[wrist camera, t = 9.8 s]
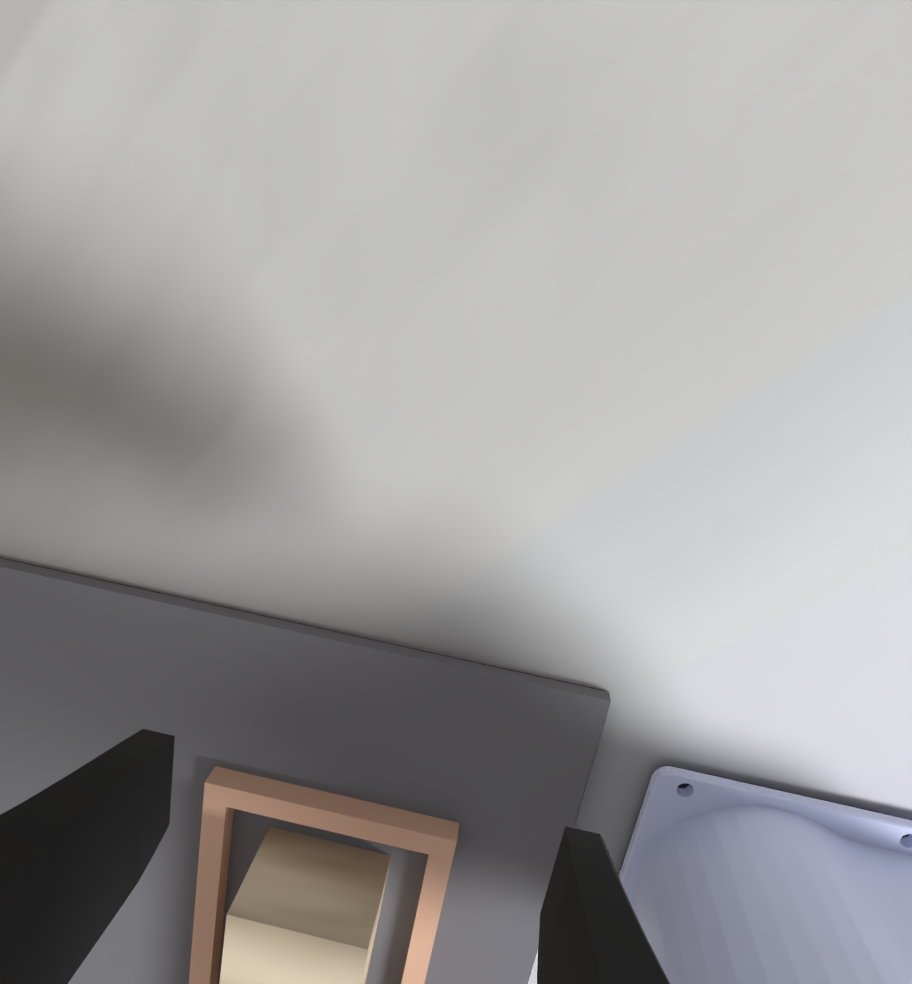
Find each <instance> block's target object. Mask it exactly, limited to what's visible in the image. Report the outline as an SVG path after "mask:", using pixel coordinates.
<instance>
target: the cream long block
mask: <svg viewBox="0 0 912 984" xmlns="http://www.w3.org/2000/svg"><path fill="white" fill-rule="evenodd" d="M390 859H391V856H390V855H386V854H381V853H377V852H373V851H369V850H365V849H361V848H357V847H352V846H348V845H344V844H340V843H336V842H332V841H327V840H323V839H319V838H315V837H311V836H307V835H303V834H298V833H294V832H290V831H286V830H282V829H278V828H273V827H269V829H268V831H267V833H266V835H265V837H264V839H263V841H262V844H261V846H260V848H259V850H258V852H257V854H256V856H255V858H254V860H253V862H252V864H251V866H250V868H249V870H248V872H247V874H246V876H245V878H244V880H243V882H242V884H241V886H240V888H239V890H238V892H237V895H236V897H235V899H234V901H233V903H232V905H231V907H230V909H229V911H228V913H227V916H226V926H225V935H224V945H223V954H222V964H221V973H220V983H219V984H366V980H367V975H368V970H369V965H370V960H371V955H372V950H373V945H374V940H375V935H376V930H377V925H378V920H379V915H380V910H381V905H382V900H383V895H384V889H385V884H386V879H387V874H388V869H389V864H390Z"/></svg>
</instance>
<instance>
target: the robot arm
mask: <svg viewBox="0 0 912 984" xmlns="http://www.w3.org/2000/svg"><path fill="white" fill-rule="evenodd" d="M174 741H175V736H173V735H168V734H164V733H160V732H155V731H151V730H147V729H142V730H140V731H138V732H137V733H135V734H133V735H132V736H130V737H128V738H127V739H125V740H123V741H122V742H120V743H119V744H117V745H115V746H114V747H112V748H111V749H109V750H107V751H106V752H104V753H103V754H101V755H99V756H98V757H96V758H95V759H93V760H91V761H90V762H88V763H87V764H85V765H83V766H82V767H80V768H79V769H77V770H75V771H74V772H72V773H71V774H69V775H67V776H66V777H64V778H62V779H61V780H59V781H57V782H56V783H54V784H52V785H51V786H49V787H47V788H46V789H44V790H42V791H41V792H39V793H37V794H36V795H34V796H32V797H31V798H29V799H27V800H26V801H24V802H22V803H21V804H19V805H17V806H15V807H13V808H12V809H10V810H8V811H6V812H4V813H2V814H1V815H0V984H68V983H69V981H70V980H71V978H72V977H73V975H74V974H75V973H76V971H77V970H78V968H79V967H80V965H81V964H82V963H83V961H84V960H85V958H86V957H87V955H88V954H89V953H90V951H91V950H92V948H93V947H94V945H95V944H96V943H97V941H98V940H99V938H100V937H101V935H102V934H103V933H104V931H105V930H106V928H107V927H108V925H109V924H110V922H111V921H112V920H113V918H114V917H115V915H116V914H117V912H118V911H119V909H120V908H121V906H122V905H123V904H124V902H125V901H126V899H127V898H128V896H129V895H130V893H131V892H132V890H133V889H134V887H135V886H136V885H137V883H138V882H139V880H140V878H141V876H142V874H143V873H144V871H145V869H146V867H147V866H148V864H149V862H150V860H151V858H152V857H153V855H154V853H155V851H156V849H157V847H158V845H159V843H160V842H161V840H162V838H163V836H164V834H165V832H166V830H167V828H168V826H169V823H170V806H171V790H172V773H173V757H174ZM683 783H688V784H690V785H689V786H688V787H686V788H679V787H678V786H679V785H680V784H683ZM907 834H910V835H909V836H907V837H905V838H902V837H903V836H904V835H907ZM537 984H912V820H908V819H903V818H899V817H895V816H890V815H886V814H881V813H877V812H872V811H868V810H863V809H859V808H855V807H850V806H846V805H841V804H837V803H832V802H828V801H823V800H819V799H814V798H810V797H806V796H801V795H797V794H792V793H788V792H783V791H779V790H774V789H770V788H765V787H761V786H757V785H752V784H748V783H743V782H739V781H734V780H730V779H725V778H721V777H716V776H712V775H708V774H703V773H699V772H694V771H690V770H685V769H681V768H676V767H672V766H664V767H660V768H658V769H657V770H655V771H654V773H653V775H652V777H651V780H650V783H649V786H648V789H647V792H646V795H645V798H644V801H643V804H642V807H641V810H640V813H639V816H638V819H637V822H636V825H635V829H634V832H633V835H632V838H631V841H630V844H629V847H628V850H627V853H626V856H625V859H624V862H623V865H622V868H621V871H620V874H619V876H618V874H617V872H616V869H615V867H614V865H613V862H612V860H611V857H610V855H609V852H608V850H607V847H606V845H605V842H604V840H603V839H602V837H601V836H600V834H597V833H592V832H588V831H584V830H579V829H575V828H571V827H566V826H565V829H564V832H563V836H562V839H561V843H560V846H559V850H558V853H557V857H556V860H555V864H554V867H553V871H552V874H551V877H550V881H549V884H548V888H547V891H546V895H545V898H544V902H543V905H542V909H541V912H540V926H539V945H538V970H537Z"/></svg>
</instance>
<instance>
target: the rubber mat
mask: <svg viewBox="0 0 912 984" xmlns="http://www.w3.org/2000/svg"><path fill="white" fill-rule="evenodd" d="M609 705H610V696H609V692H606V691H602V690H597V689H593V688H588V687H584V686H579V685H575V684H570V683H566V682H561V681H556V680H552V679H547V678H543V677H538V676H534V675H529V674H525V673H520V672H516V671H511V670H506V669H502V668H497V667H493V666H488V665H484V664H479V663H475V662H470V661H465V660H461V659H456V658H452V657H447V656H443V655H438V654H434V653H429V652H425V651H420V650H415V649H411V648H406V647H402V646H397V645H393V644H388V643H384V642H379V641H375V640H370V639H365V638H361V637H356V636H352V635H347V634H343V633H338V632H334V631H329V630H325V629H320V628H315V627H311V626H306V625H302V624H297V623H293V622H288V621H284V620H279V619H275V618H270V617H265V616H261V615H256V614H252V613H247V612H243V611H238V610H234V609H229V608H224V607H220V606H215V605H211V604H206V603H202V602H197V601H193V600H188V599H184V598H179V597H174V596H170V595H165V594H161V593H156V592H152V591H147V590H143V589H138V588H134V587H129V586H124V585H120V584H115V583H111V582H106V581H102V580H97V579H93V578H88V577H84V576H79V575H74V574H70V573H65V572H61V571H56V570H52V569H47V568H43V567H38V566H33V565H29V564H24V563H20V562H15V561H11V560H6V559H2V558H0V815H1V814H2V813H4V812H6V811H8V810H10V809H12V808H13V807H15V806H17V805H19V804H21V803H22V802H24V801H26V800H27V799H29V798H31V797H32V796H34V795H36V794H37V793H39V792H41V791H42V790H44V789H46V788H47V787H49V786H51V785H52V784H54V783H56V782H57V781H59V780H61V779H62V778H64V777H66V776H67V775H69V774H71V773H72V772H74V771H75V770H77V769H79V768H80V767H82V766H83V765H85V764H87V763H88V762H90V761H91V760H93V759H95V758H96V757H98V756H99V755H101V754H103V753H104V752H106V751H107V750H109V749H111V748H112V747H114V746H115V745H117V744H119V743H120V742H122V741H123V740H125V739H127V738H128V737H130V736H132V735H133V734H135V733H137V732H138V731H140V730H142V729H147V730H151V731H155V732H160V733H164V734H168V735H173V736H175V741H174V757H173V773H172V790H171V806H170V823H169V826H168V828H167V830H166V832H165V834H164V836H163V838H162V840H161V842H160V843H159V845H158V847H157V849H156V851H155V853H154V855H153V857H152V858H151V860H150V862H149V864H148V866H147V867H146V869H145V871H144V873H143V874H142V876H141V878H140V880H139V882H138V883H137V885H136V886H135V887H134V889H133V890H132V892H131V893H130V895H129V896H128V898H127V899H126V901H125V902H124V904H123V905H122V906H121V908H120V909H119V911H118V912H117V914H116V915H115V917H114V918H113V920H112V921H111V922H110V924H109V925H108V927H107V928H106V930H105V931H104V933H103V934H102V935H101V937H100V938H99V940H98V941H97V943H96V944H95V945H94V947H93V948H92V950H91V951H90V953H89V954H88V955H87V957H86V958H85V960H84V961H83V963H82V964H81V965H80V967H79V968H78V970H77V971H76V973H75V974H74V975H73V977H72V978H71V980H70V981H69V983H68V984H189V974H190V961H191V949H192V936H193V924H194V911H195V898H196V886H197V873H198V860H199V848H200V835H201V823H202V810H203V797H204V785H205V781H206V780H207V778H208V777H209V775H210V774H211V772H212V771H213V769H214V768H215V766H217V767H222V768H226V769H230V770H234V771H239V772H243V773H247V774H252V775H256V776H260V777H265V778H269V779H273V780H277V781H282V782H286V783H290V784H295V785H299V786H303V787H307V788H312V789H316V790H320V791H325V792H329V793H333V794H338V795H342V796H346V797H350V798H355V799H359V800H363V801H368V802H372V803H376V804H380V805H385V806H389V807H393V808H398V809H402V810H406V811H411V812H415V813H419V814H423V815H428V816H432V817H436V818H441V819H445V820H449V821H454V822H458V823H459V830H458V837H457V843H456V847H455V852H454V856H453V861H452V865H451V869H450V874H449V878H448V882H447V887H446V891H445V896H444V900H443V904H442V909H441V913H440V917H439V922H438V926H437V931H436V935H435V939H434V944H433V948H432V952H431V957H430V961H429V966H428V970H427V974H426V979H425V983H424V984H528V980H529V977H530V974H531V970H532V967H533V963H534V960H535V957H536V953H537V950H538V945H539V926H540V912H541V909H542V905H543V902H544V898H545V895H546V891H547V888H548V884H549V881H550V877H551V874H552V871H553V867H554V864H555V860H556V857H557V853H558V850H559V846H560V843H561V839H562V836H563V832H564V829H565V826H566V827H571V828H573V827H574V824H575V820H576V817H577V814H578V810H579V807H580V803H581V800H582V797H583V793H584V790H585V786H586V783H587V780H588V776H589V773H590V769H591V766H592V763H593V759H594V756H595V752H596V749H597V746H598V742H599V739H600V735H601V732H602V729H603V725H604V722H605V718H606V715H607V711H608V708H609ZM269 827H273V828H278V829H282V830H286V831H290V832H294V833H298V834H303V835H307V836H311V837H315V838H319V839H323V840H327V841H332V842H336V843H340V844H344V845H348V846H352V847H357V848H361V849H365V850H369V851H373V852H377V853H381V854H386V855H390V856H391V859H390V864H389V869H388V874H387V879H386V884H385V889H384V895H383V900H382V905H381V910H380V915H379V920H378V925H377V930H376V935H375V940H374V945H373V950H372V955H371V960H370V965H369V970H368V975H367V980H366V984H401V981H402V976H403V971H404V967H405V962H406V957H407V953H408V948H409V943H410V939H411V934H412V929H413V925H414V920H415V915H416V910H417V906H418V901H419V896H420V892H421V887H422V882H423V878H424V873H425V868H426V864H427V859H428V854H424V853H420V852H416V851H411V850H407V849H403V848H399V847H394V846H390V845H386V844H382V843H378V842H373V841H369V840H365V839H361V838H356V837H352V836H348V835H344V834H339V833H335V832H331V831H327V830H322V829H318V828H314V827H310V826H305V825H301V824H297V823H293V822H288V821H284V820H280V819H276V818H272V817H267V816H263V815H259V814H255V813H250V812H246V811H242V810H238V809H234V815H233V826H232V836H231V846H230V856H229V867H228V877H227V887H226V898H225V908H224V918H223V928H222V939H221V949H220V959H219V970H218V980H217V984H219V983H220V973H221V964H222V954H223V945H224V935H225V926H226V916H227V913H228V911H229V909H230V907H231V905H232V903H233V901H234V899H235V897H236V895H237V892H238V890H239V888H240V886H241V884H242V882H243V880H244V878H245V876H246V874H247V872H248V870H249V868H250V866H251V864H252V862H253V860H254V858H255V856H256V854H257V852H258V850H259V848H260V846H261V844H262V841H263V839H264V837H265V835H266V833H267V831H268V829H269Z"/></svg>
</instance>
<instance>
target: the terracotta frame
mask: <svg viewBox="0 0 912 984" xmlns="http://www.w3.org/2000/svg"><path fill="white" fill-rule="evenodd" d="M234 809H238V810H242V811H246V812H250V813H255V814H259V815H263V816H267V817H272V818H276V819H280V820H284V821H288V822H293V823H297V824H301V825H305V826H310V827H314V828H318V829H322V830H327V831H331V832H335V833H339V834H344V835H348V836H352V837H356V838H361V839H365V840H369V841H373V842H378V843H382V844H386V845H390V846H394V847H399V848H403V849H407V850H411V851H416V852H420V853H424V854H428V859H427V864H426V868H425V873H424V878H423V882H422V887H421V892H420V896H419V901H418V906H417V910H416V915H415V920H414V925H413V929H412V934H411V939H410V943H409V948H408V953H407V957H406V962H405V967H404V971H403V976H402V981H401V984H424V983H425V979H426V974H427V970H428V966H429V961H430V957H431V952H432V948H433V944H434V939H435V935H436V931H437V926H438V922H439V917H440V913H441V909H442V904H443V900H444V896H445V891H446V887H447V882H448V878H449V874H450V869H451V865H452V861H453V856H454V852H455V847H456V843H457V837H458V830H459V823H458V822H454V821H449V820H445V819H441V818H436V817H432V816H428V815H423V814H419V813H415V812H411V811H406V810H402V809H398V808H393V807H389V806H385V805H380V804H376V803H372V802H368V801H363V800H359V799H355V798H350V797H346V796H342V795H338V794H333V793H329V792H325V791H320V790H316V789H312V788H307V787H303V786H299V785H295V784H290V783H286V782H282V781H277V780H273V779H269V778H265V777H260V776H256V775H252V774H247V773H243V772H239V771H234V770H230V769H226V768H222V767H217V766H215V768H214V769H213V771H212V772H211V774H210V775H209V777H208V778H207V780H206V781H205V785H204V797H203V810H202V823H201V835H200V848H199V860H198V873H197V886H196V898H195V911H194V924H193V936H192V949H191V961H190V974H189V984H217V980H218V970H219V959H220V949H221V939H222V928H223V918H224V908H225V898H226V887H227V877H228V867H229V856H230V846H231V836H232V826H233V815H234Z"/></svg>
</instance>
